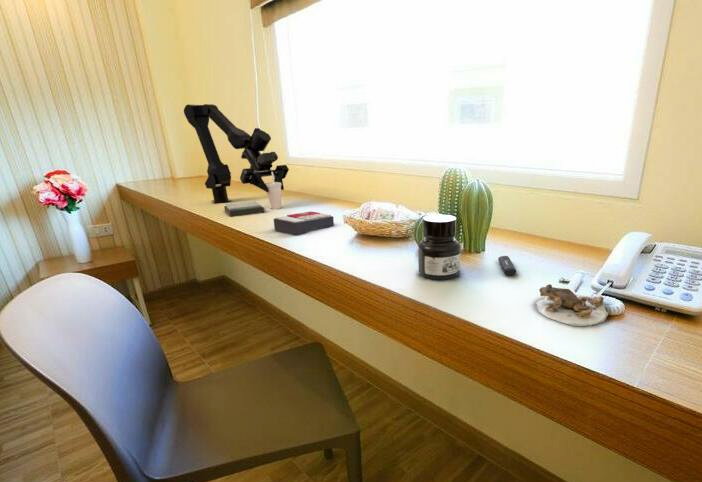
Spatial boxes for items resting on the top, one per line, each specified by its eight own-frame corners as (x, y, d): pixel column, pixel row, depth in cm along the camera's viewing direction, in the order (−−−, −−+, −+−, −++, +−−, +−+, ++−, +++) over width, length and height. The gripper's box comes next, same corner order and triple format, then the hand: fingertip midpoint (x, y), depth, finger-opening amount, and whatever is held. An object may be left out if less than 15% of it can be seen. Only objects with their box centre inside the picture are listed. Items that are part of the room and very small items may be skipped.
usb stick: (497, 261, 91) (498, 255, 90) (509, 261, 91) (509, 255, 90) (504, 276, 82) (504, 269, 81) (516, 276, 82) (517, 269, 81)
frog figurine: (532, 320, 63) (534, 298, 62) (537, 292, 74) (540, 273, 72) (610, 331, 60) (615, 308, 58) (604, 300, 70) (608, 280, 69)
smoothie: (275, 210, 151) (269, 173, 146) (264, 208, 154) (258, 172, 149) (288, 207, 156) (283, 171, 151) (277, 206, 159) (272, 170, 154)
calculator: (333, 214, 125) (294, 220, 114) (334, 227, 126) (296, 235, 115) (311, 210, 131) (272, 216, 120) (312, 223, 133) (274, 230, 121)
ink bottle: (427, 284, 79) (427, 225, 74) (410, 270, 86) (409, 216, 82) (469, 276, 82) (471, 220, 78) (449, 263, 90) (450, 211, 85)
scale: (225, 211, 151) (223, 204, 150) (257, 207, 157) (256, 201, 156) (230, 216, 142) (228, 209, 141) (264, 212, 148) (263, 205, 147)
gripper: (238, 146, 142) (259, 179, 140) (283, 143, 156) (302, 173, 153) (231, 167, 150) (251, 199, 147) (274, 163, 163) (293, 192, 161)
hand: (275, 190), depth 152 cm, fingers closed on smoothie, 6 cm apart
